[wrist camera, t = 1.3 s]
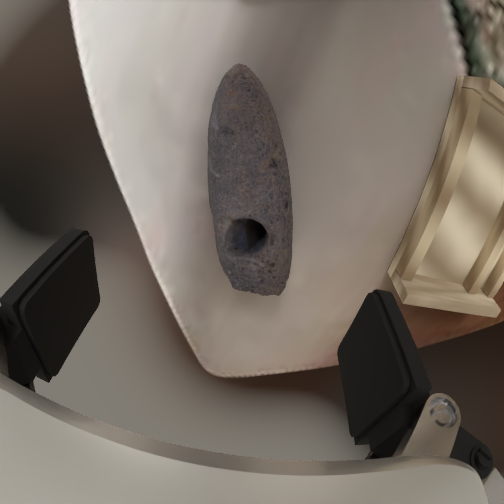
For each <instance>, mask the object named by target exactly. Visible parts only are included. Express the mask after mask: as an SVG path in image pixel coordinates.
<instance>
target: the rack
mask: <svg viewBox="0 0 504 504" xmlns="http://www.w3.org/2000/svg"><path fill="white" fill-rule="evenodd" d="M387 273H388V275H389V277H390V279H391V281H392V283H393V285H394V287H395V289H396V291H397V293H398V295H399V297H400V299H401V301H402V303H403V304H409V305H415V306H421V307H428V308H434V309H440V310H447V311H454V312H460V313H467V314H474V315H481V316H488V317H497V316H498V314H499V313H500V311H501V310H500V308H499V307H498V305H497V304H496V302H495V301H494V300H493V298H494V296H495V295H496V293H497V292H498V290H499V288H500V287H501V285H502V283H503V282H504V88H502V87H501V86H500V85H499V84H497V83H496V82H495V81H494V80H492V79H491V78H482V77H470V76H457V80H456V85H455V89H454V94H453V98H452V102H451V106H450V110H449V113H448V117H447V121H446V124H445V128H444V131H443V135H442V138H441V141H440V144H439V147H438V150H437V154H436V157H435V160H434V162H433V165H432V168H431V171H430V174H429V177H428V179H427V182H426V185H425V187H424V190H423V193H422V195H421V198H420V200H419V203H418V205H417V208H416V210H415V212H414V215H413V217H412V219H411V222H410V224H409V226H408V229H407V231H406V233H405V235H404V238H403V240H402V242H401V244H400V246H399V248H398V251H397V253H396V255H395V257H394V259H393V261H392V263H391V265H390V267H389V269H388V271H387Z"/></svg>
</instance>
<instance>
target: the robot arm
mask: <svg viewBox="0 0 504 504" xmlns="http://www.w3.org/2000/svg"><path fill="white" fill-rule="evenodd" d="M0 303H1V307H0V504H504V479H503V478H502V476H501V475H500V474H499V472H498V471H497V469H496V468H494V469H492V467H493V457H492V454H491V452H490V450H489V449H488V447H487V446H486V445H484V444H483V443H482V442H480V441H479V440H478V439H476V438H475V437H474V436H473V435H471V434H470V433H469V432H467V431H466V430H465V429H463V428H462V427H461V426H459V425H460V420H461V415H460V410H459V408H458V406H457V404H456V403H455V402H454V400H452V399H451V398H450V397H449V396H447V395H445V394H442V393H436V394H433V395H431V396H430V394H429V390H430V389H431V388H432V386H431V383H430V381H429V378H428V375H427V373H426V370H425V367H424V365H423V363H422V360H421V358H420V355H419V353H418V350H417V348H416V345H415V343H414V340H413V338H412V336H411V333H410V331H409V329H408V327H407V324H406V322H405V320H404V318H403V315H402V313H401V311H400V309H399V307H398V305H397V303H396V300H395V298H394V296H393V294H392V293H391V292H388V291H383V290H377V289H376V290H374V291H373V292H372V293H369V294H368V295H367V296H366V298H365V300H364V302H363V304H362V306H361V308H360V310H359V311H358V313H357V315H356V317H355V319H354V321H353V322H352V324H351V326H350V328H349V330H348V331H347V333H346V335H345V337H344V338H343V340H342V342H341V343H340V345H339V347H338V353H337V355H338V361H339V366H340V372H341V378H342V384H343V390H344V396H345V403H346V409H347V416H348V423H349V431H350V435H351V436H352V437H354V440H355V445H364V444H370V449H371V450H370V452H369V453H368V455H367V456H366V458H365V459H364V460H347V461H291V460H275V459H263V458H253V457H243V456H236V455H229V454H222V453H216V452H210V451H205V450H199V449H194V448H189V447H185V446H181V445H176V444H172V443H168V442H164V441H160V440H156V439H153V438H149V437H146V436H142V435H138V434H136V433H132V432H129V431H126V430H123V429H120V428H117V427H114V426H111V425H109V424H105V423H103V422H100V421H98V420H95V419H92V418H90V417H87V416H85V415H83V414H80V413H78V412H75V411H73V410H70V409H69V408H66V407H64V406H61V405H60V404H57V403H56V402H53V401H51V400H49V399H47V398H45V397H43V396H41V395H39V394H37V393H36V392H35V387H34V382H33V380H34V378H35V376H37V377H38V378H40V379H42V380H44V381H46V382H48V383H49V382H50V380H51V378H52V377H53V376H56V375H57V374H58V373H59V371H60V369H61V367H62V365H63V364H64V362H65V360H66V358H67V357H68V355H69V353H70V352H71V350H72V348H73V346H74V344H75V343H76V341H77V340H78V338H79V336H80V334H81V333H82V331H83V330H84V328H85V327H86V325H87V323H88V322H89V320H90V319H91V317H92V315H93V314H94V312H95V311H96V309H97V308H98V306H99V303H100V294H99V287H98V281H97V273H96V265H95V257H94V247H93V239H92V237H91V236H89V233H88V231H86V230H81V229H77V228H71V229H70V230H69V231H68V232H67V233H66V234H64V235H63V236H62V237H61V238H60V239H59V240H58V241H57V242H55V243H54V244H53V245H52V246H51V247H50V248H49V249H48V250H47V251H46V252H45V253H44V254H43V255H42V256H41V257H39V258H38V259H37V260H36V261H35V262H34V263H33V264H32V265H31V266H30V267H29V268H28V269H27V270H26V271H25V272H24V273H23V275H22V276H20V277H19V279H18V280H17V281H16V282H15V283H14V284H13V285H12V286H11V287H10V288H9V289H8V290H7V291H6V292H5V294H4V295H3V296H2V297H1V298H0Z"/></svg>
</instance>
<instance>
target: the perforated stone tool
mask: <svg viewBox="0 0 504 504" xmlns="http://www.w3.org/2000/svg"><path fill="white" fill-rule="evenodd" d="M208 187H209V200H210V208H211V211H212V215H213V221H214V228H215V236H216V246H217V251H218V254H219V260H220V263H221V265H222V267H223V270H224V272H225V273H226V275H227V276H228V278H229V280H230V282H231V284H232V287H233V288H234V289H237V290H241V291H250V292H251V293H256V294H257V293H259V294H260V295H263V296H264V295H266V296H268V295H278V296H279V295H280V294H281V292H283V290H284V288H285V285H286V281H287V279H288V278H289V273H290V267H291V258H292V230H293V217H292V199H291V187H290V177H289V170H288V163H287V158H286V153H285V149H284V145H283V140H282V137H281V133H280V129H279V126H278V122H277V119H276V116H275V113H274V110H273V107H272V105H271V102H270V100H269V98H268V95H267V93H266V91H265V89H264V88H263V86H262V84H261V82H260V81H259V79H258V78H257V77H256V76H255V74H254V73H253V72H252V71H251V70H250V69H249V68H248V67H247V66H246V65H242V64H236V65H235V66H233V67H232V68H231V69H230V70H229V71H228V72H226V74H225V75H224V77H223V79H222V81H221V83H220V85H219V87H218V90H217V92H216V95H215V98H214V102H213V106H212V112H211V116H210V121H209V128H208Z"/></svg>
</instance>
